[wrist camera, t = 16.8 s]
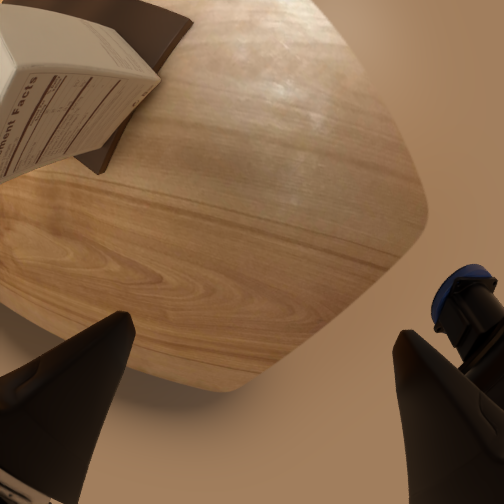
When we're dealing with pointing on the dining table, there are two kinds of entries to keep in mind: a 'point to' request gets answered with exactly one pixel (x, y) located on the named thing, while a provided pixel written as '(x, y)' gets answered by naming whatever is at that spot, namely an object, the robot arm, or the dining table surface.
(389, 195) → the dining table surface
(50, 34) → the white packaging box
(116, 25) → the board
